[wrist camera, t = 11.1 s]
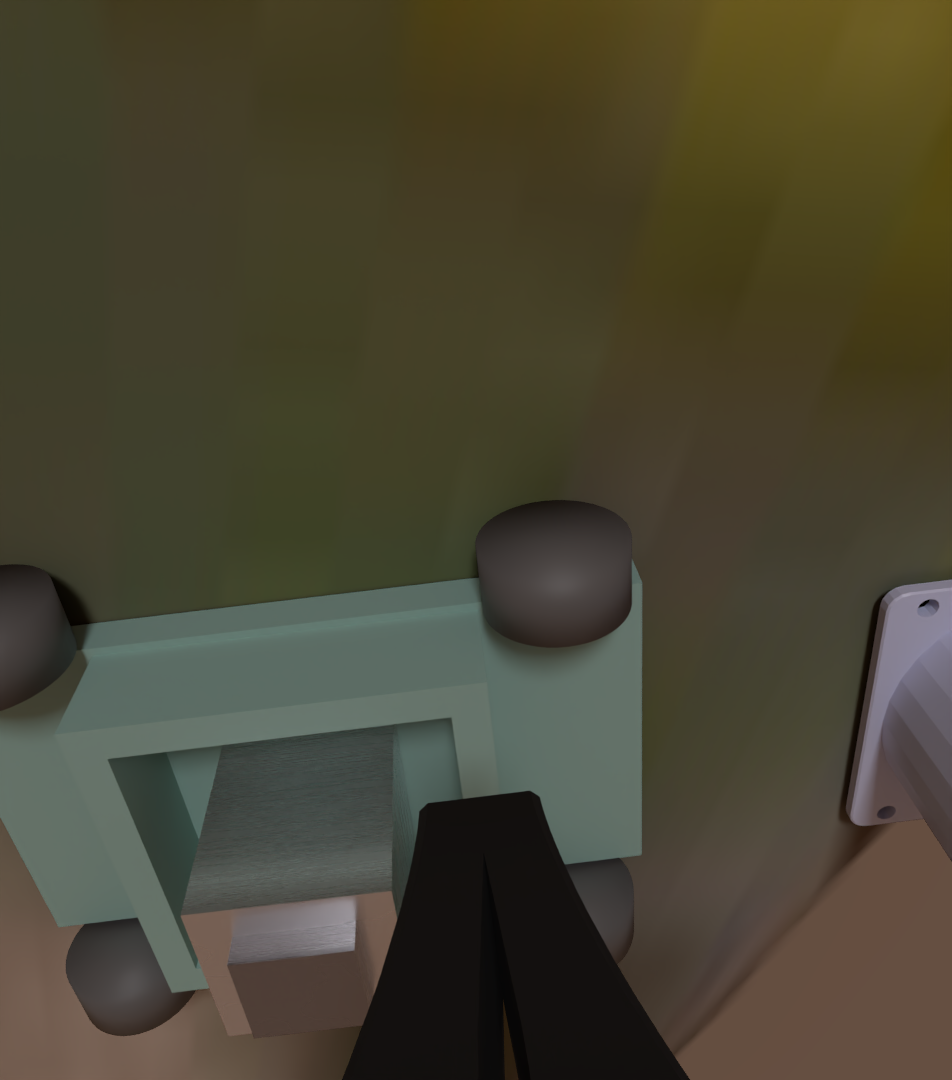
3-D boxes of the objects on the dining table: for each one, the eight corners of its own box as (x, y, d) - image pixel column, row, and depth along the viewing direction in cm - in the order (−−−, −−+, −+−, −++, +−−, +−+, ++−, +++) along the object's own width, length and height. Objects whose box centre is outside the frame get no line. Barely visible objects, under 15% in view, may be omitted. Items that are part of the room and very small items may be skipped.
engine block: (393, 712, 21) (391, 918, 16) (413, 828, 23) (417, 1041, 18) (226, 732, 21) (173, 944, 16) (260, 846, 23) (223, 1064, 18)
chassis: (631, 490, 20) (673, 576, 17) (633, 868, 26) (663, 979, 23) (-92, 576, 19) (-182, 678, 16) (91, 935, 26) (49, 1056, 23)
